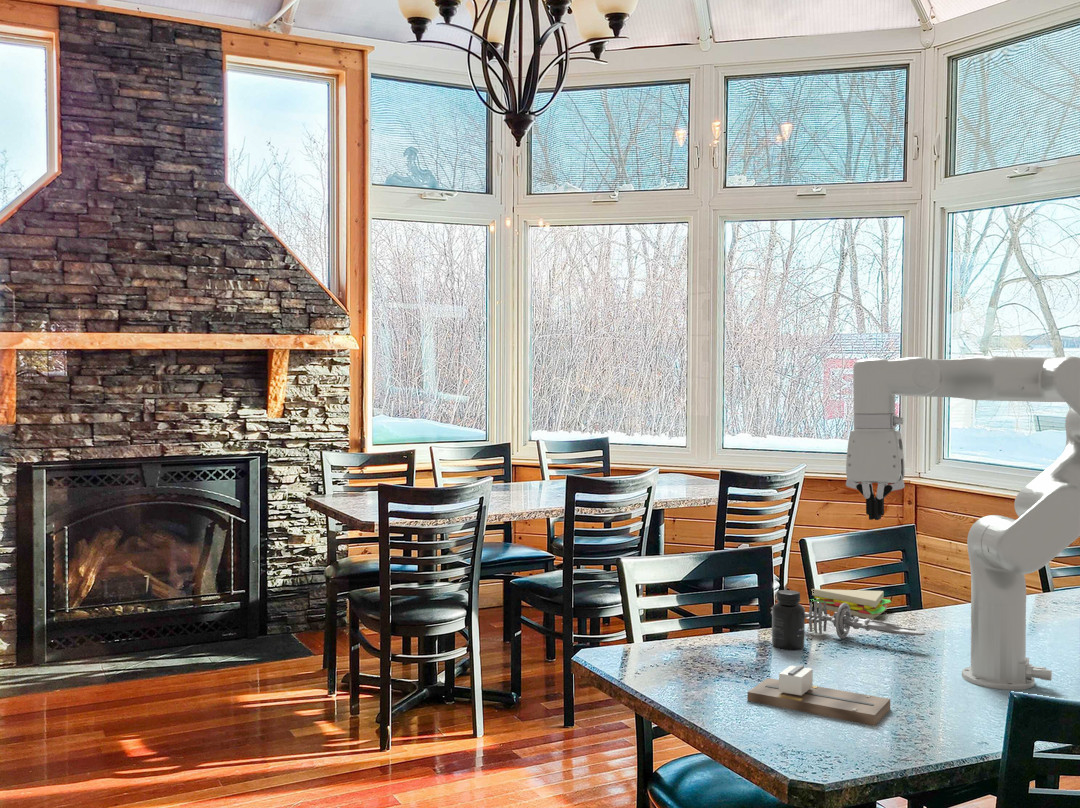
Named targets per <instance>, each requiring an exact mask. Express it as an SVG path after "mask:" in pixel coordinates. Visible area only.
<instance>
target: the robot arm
mask: <svg viewBox="0 0 1080 808" xmlns="http://www.w3.org/2000/svg"><path fill="white" fill-rule="evenodd" d="M852 373H853V376H852V378H853V379H852V381H853V382H852V383H853V429H852V430H850V432H849V436H848V443H847V450H846V462H845V475H846V481H845V486H846V487H847V488H850V489H854V490H857V491H858V492H859V493H860V494H861V495H862V496H863V498H864V499H865V513H866V515H867V516H868V520H871V521H873V520H875V521H879V520H881V519H882V517H883V516H884V515H885V498H886V497H887V496H888V495H889V494H890V493H891V492H894V491H899V490H903V489H904V488H905V487H906V485H905V480H904V479H905V473H906V471H905V469H906V468H905V453H904V444H903V440H902V434H901V430H896V428H897V426H899V425H904V417H900V416H898V415H897V413H896V396H899V397H914V398H915V397H916V398H917V397H923V398H924V397H925V398H926V397H928V398H930V397H931V398H935V397H936V398H953V399H954V398H956V399H964V400H971V401H986V402H987V401H988V402H989V401H990V402H997V401H999V402H1034V403H1035V402H1036V403H1066V404H1067V405H1068V406H1069V407H1070V409H1069V410H1068V411H1067V413H1066V416H1065V424H1064V426H1065V427H1064V428H1065V434H1066V437H1065V438H1066V439H1065V440H1066V441H1065V447H1064V449H1063V451H1062V453H1061V454H1060V455H1059V456H1058V457H1056V459H1055V460H1054V461H1053V462H1052V464H1050V465H1049V466H1048V467H1046V469H1044V470H1043V471H1042V472H1040V473H1039V474H1038V475H1037V476H1036V477H1034V478H1033V479H1032V480H1031V481H1030V482H1028V483H1027V484H1026V485H1024V487H1022V489H1021V490H1020V491H1019V492H1017V494H1016V496H1015V499H1014V502H1013V503H1014V504H1013V505H1014V511H1015V514H1016V515H1017V517H1018V518H1017V519H1015V518H1013V517H1007V516H1003V515H998V514H992V515H991V514H990V515H986V516H982V517H980V518H978V520H976V521H975V522H974V523H973V524H972V525H971V527H970V529H969V531H968V534H967V539H966V540H967V542H966V544H967V545H966V546H967V547H966V548H967V554H968V560H969V561H968V562H969V566H970V567H969V568H970V583H971V585H970V587H971V588H970V589H971V591H970V593H971V595H970V596H971V597H970V666H968V667H964V668H963V669H962V670H961V677H962V678H963V679H964V680H965V681H967V682H968V683H971V684H974V685H977V686H981V687H984V688H989V689H996V690H1003V691H1004V690H1006V691H1022V690H1029V689H1031V688H1033V687H1035V684H1036V681H1035V679H1040V680H1042V681H1043V680H1044V681H1049V682H1050V681H1052V680H1053V671H1052V669H1047V668H1046V667H1044V666H1034V665H1033V664H1032V663H1030V658H1029V657H1027V656H1026V650H1027V649H1026V647H1027V646H1026V645H1027V644H1026V643H1027V642H1026V641H1027V639H1026V638H1027V634H1026V633H1027V631H1026V630H1027V621H1026V620H1027V585H1026V575H1028V574H1032V573H1035V572H1038V571H1039V570H1041V569H1042V568H1043V567H1045V566H1046V565H1047V564H1049V563H1050V562H1051V561H1053V560H1054V559H1055V557H1057V556H1058V555H1059V554H1060V553H1062V552H1063V551H1064V550H1066V548H1068V547H1069V546H1070V545H1071V544H1072V543H1074V542H1075V541H1076V540H1077V539H1078V538H1079V537H1080V357H1079V356H1060V357H1059V356H1058V357H1057V356H1056V357H1049V356H1048V357H1046V356H1044V357H1040V356H1038V357H1037V356H1036V357H1035V356H1032V357H1031V356H1001V355H1000V356H998V355H995V356H994V355H991V356H989V355H987V356H986V355H985V356H974V357H966V358H965V357H963V358H951V359H950V358H949V359H948V358H947V359H943V358H942V359H939V358H937V359H936V358H935V359H934V358H933V359H931V358H928V357H923V356H911V357H910V356H909V357H902V358H898V359H889V358H864V359H859V360H856V361H855V362H854V364H853V372H852ZM873 483H874V484H875V483H876V484H877V488H876V495H875V494H874V489H873Z"/></svg>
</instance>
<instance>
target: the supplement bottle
mask: <svg viewBox="0 0 1080 808" xmlns="http://www.w3.org/2000/svg"><path fill="white" fill-rule="evenodd" d="M776 601H777V602H776V603H774V604H773V606H772V607H773V608H772V609H771V611H772V614H771V617H772V618H771V645H772V647H773V648H775V649H778V650H782V649H783V650H784V651H801V650H803V649H804V648H805V641H806V640H805V639H806V638H805V637H806V636H805V633H806V631H805V630H806V629H805V626H806V624H805V623H806V621H805V619H806V618H805V612H806V608H805V607H804V606H803V605H802V604H801V603H800V602H801V592H799V591H797V590H792V589H791V590H790V589H782V590H781V589H780V590H777V591H776ZM800 604H801V605H800ZM804 608H805V609H804ZM783 650H782V651H783Z"/></svg>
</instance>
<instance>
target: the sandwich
mask: <svg viewBox="0 0 1080 808" xmlns="http://www.w3.org/2000/svg"><path fill="white" fill-rule="evenodd" d="M813 590H814V591H813ZM810 591H812V595H811V596H814V598H812V599H810V600H811V601H810V602H814V599H817V600H815V601H816V602H819V601H821V604H822V610H824V602H826V607H827V611H832V612H834V613H835V612H837V611H838V609H839V607H840V605H841V604H843V603H847V604H848V605H849V607H850V610H851V616H852V617H860V618H861V619H868V618H869V619H871V620H875V619H876V618H877V617H879V616H880V615H882V614H883V613H884V612H885V611H887V607H888V605H887V604H890V603H892V601H891V599H886V598H884V596H885V594H884V590H860V589H857V590H855V589H832V588H831V589H825V588H824V589H823V588H811V589H810ZM813 592H814V593H813ZM812 600H813V601H812ZM812 608H814V607H813V604H812ZM817 609H819V603H817ZM845 614H846V613H845ZM845 614H844V615H845Z"/></svg>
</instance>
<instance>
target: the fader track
mask: <svg viewBox="0 0 1080 808" xmlns="http://www.w3.org/2000/svg"><path fill="white" fill-rule="evenodd" d="M747 701H748V702H752V703H757V704H763V705H765V706H766V705H768V706H773V707H777V708H781V709H782V708H783V709H787V710H792V711H798V712H802V713H807V714H813V715H818V716H823V717H827V718H832V719H833V718H834V719H838V720H842V721H847V722H853V723H859V724H863V725H868V726H876V725H877V724H879V722H880V721H881V720H882V719H883V718H884V717H885V716H886V714H888V713H889V712H890V710H891V699H890V698H887V697H881V696H875V695H871V694H864V693H863V694H862V693H858V692H851V691H846V690H841V689H835V688H828V687H824V686H823V687H822V686H818V685H813V687H812V688H810V689H809V690H808V691H807V692H805V693H804V694H803V695H802V696H801V695H795V694H789V693H784V692H779V679H777V678H771V677H767V678H766V679H764V680H763V681H761V682H760V683H758V684H756V686H753V688H751V689H749V690H748V691H747Z"/></svg>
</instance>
